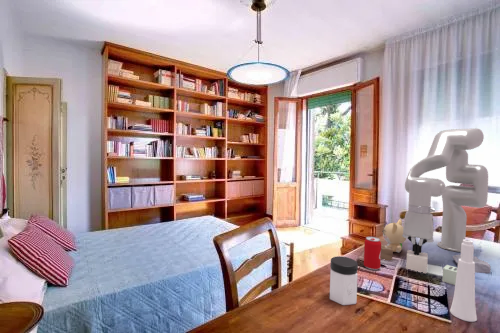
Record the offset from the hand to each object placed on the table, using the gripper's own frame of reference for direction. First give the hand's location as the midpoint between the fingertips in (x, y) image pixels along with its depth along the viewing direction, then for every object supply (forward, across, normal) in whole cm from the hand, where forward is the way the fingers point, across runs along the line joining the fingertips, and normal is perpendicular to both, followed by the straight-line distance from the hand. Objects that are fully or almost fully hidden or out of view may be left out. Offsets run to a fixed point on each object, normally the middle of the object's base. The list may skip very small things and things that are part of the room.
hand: (416, 253), depth 108 cm
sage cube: (+6, -12, +5) cm, 14 cm away
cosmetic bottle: (+6, -15, +29) cm, 33 cm away
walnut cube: (+6, +12, -3) cm, 14 cm away
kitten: (+6, +11, -16) cm, 20 cm away
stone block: (+6, -17, -17) cm, 25 cm away
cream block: (+6, 0, 0) cm, 6 cm away
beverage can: (+6, +14, +12) cm, 19 cm away
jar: (+6, +15, +43) cm, 46 cm away
